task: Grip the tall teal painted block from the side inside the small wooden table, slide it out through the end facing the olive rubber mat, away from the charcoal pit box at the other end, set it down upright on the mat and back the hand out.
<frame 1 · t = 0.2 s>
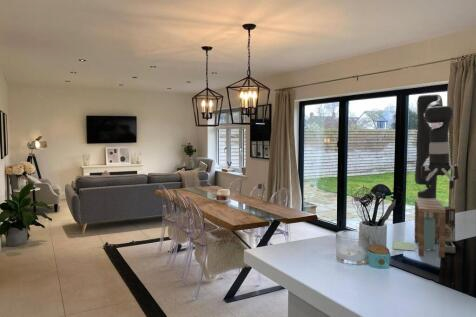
hand: (439, 188, 158), 29 cm above the counter, tool pointing down, fingers open, 8 cm apart
teal block: (428, 248, 167), on the counter
small wooden table: (428, 248, 167), on the counter
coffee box: (442, 239, 180), on the counter
pit box: (448, 249, 164), on the counter
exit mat: (403, 246, 171), on the counter
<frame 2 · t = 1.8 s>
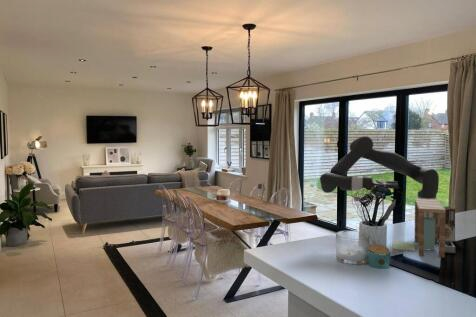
hand: (398, 184, 170), 29 cm above the counter, tool horizontal, fingers open, 8 cm apart
nothing on the counter moved.
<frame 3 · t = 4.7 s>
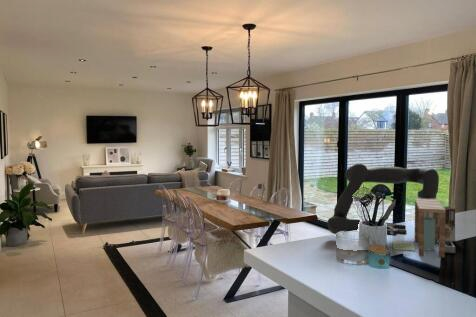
hand: (406, 229, 170), 8 cm above the counter, tool horizontal, fingers open, 8 cm apart
nothing on the counter moved.
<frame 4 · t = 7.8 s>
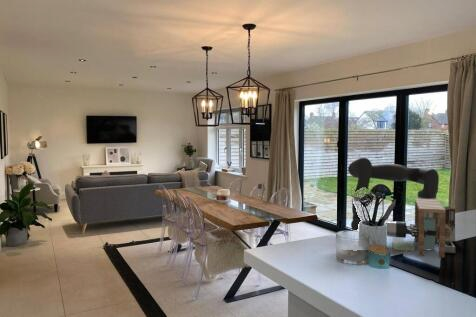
hand: (435, 231, 165), 8 cm above the counter, tool horizontal, fingers closed on teal block, 4 cm apart
teal block: (428, 248, 167), on the counter, touching gripper
everything else where it was.
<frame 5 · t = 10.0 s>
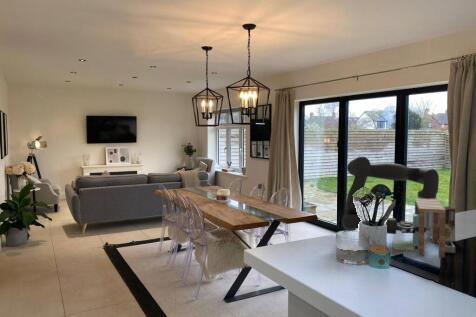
hand: (424, 228, 167), 9 cm above the counter, tool horizontal, fingers closed on teal block, 4 cm apart
teal block: (418, 244, 168), point 1 cm above the counter, touching gripper
everything else where it was.
when the fingers open (8 cm above the counter, at t = 12.2 s): teal block stays where it is, resting on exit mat.
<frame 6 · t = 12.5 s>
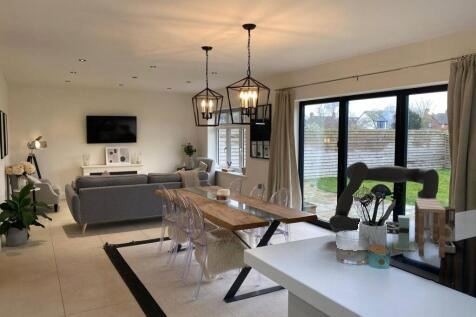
hand: (408, 228, 169), 9 cm above the counter, tool horizontal, fingers open, 7 cm apart
teal block: (403, 245, 171), resting on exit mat
everything else where it was.
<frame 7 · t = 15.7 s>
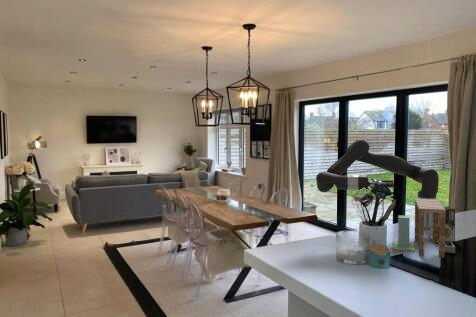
hand: (393, 183, 170), 30 cm above the counter, tool horizontal, fingers open, 8 cm apart
nothing on the counter moved.
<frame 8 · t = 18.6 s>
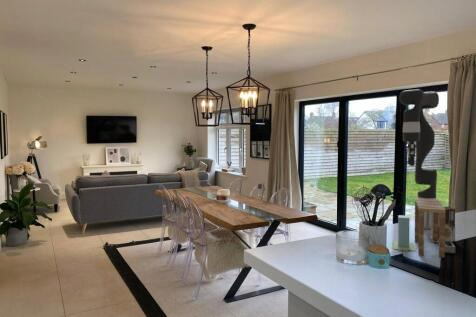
hand: (411, 164, 175), 38 cm above the counter, tool pointing down, fingers open, 8 cm apart
nothing on the counter moved.
at the end: teal block inside the target area (0.0 cm from its centre), resting on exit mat; teal block tilted 0°; teal block touching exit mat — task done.
